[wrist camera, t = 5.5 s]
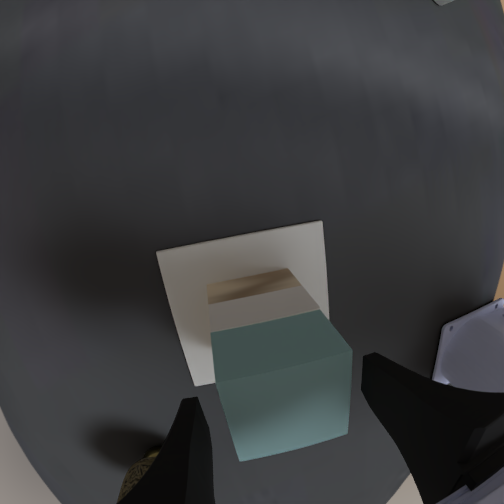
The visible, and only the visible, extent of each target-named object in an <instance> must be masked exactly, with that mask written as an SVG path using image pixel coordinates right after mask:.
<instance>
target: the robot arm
mask: <svg viewBox="0 0 504 504" xmlns="http://www.w3.org/2000/svg"><path fill="white" fill-rule="evenodd" d="M503 304H504V299H502V298H499V299H498V300H495V301H493V302H491V303H489V304H487V305H485V306H483V307H481V308H479V309H477V310H475V311H473V312H471V313H469V314H467V315H465V316H462V317H460V318H458V319H456V320H454V321H451V322H449V323H447V324H445V325H444V326H443V327H442V330H441V336H440V342H439V348H438V353H437V358H436V363H435V368H434V372H433V377H432V380H431V379H429V378H427V377H424V376H422V375H419V374H417V373H415V372H413V371H411V370H409V369H407V368H405V367H403V366H401V365H399V364H397V363H395V362H393V361H391V360H389V359H388V358H386V357H384V356H382V355H380V354H378V353H376V352H374V353H371V354H368V355H365V356H363V368H362V384H361V390H362V392H363V394H364V396H365V399H366V400H367V402H368V404H369V406H370V408H371V409H372V411H373V412H374V414H375V415H376V416H377V418H378V419H379V421H380V422H381V423H382V425H383V426H384V428H385V429H386V430H387V432H388V433H389V435H390V436H391V437H392V439H393V440H394V442H395V443H396V445H397V447H398V448H399V450H400V452H401V454H402V456H403V458H404V460H405V462H406V464H407V466H408V468H409V470H410V472H411V474H412V476H413V478H414V481H415V483H416V485H417V488H418V490H419V493H420V496H421V498H422V501H423V504H504V308H503ZM448 383H451V384H452V385H453V386H454V387H453V386H450V385H446V384H448ZM117 504H215V499H214V488H213V460H212V444H211V437H210V431H209V427H208V424H207V421H206V419H205V416H204V413H203V411H202V408H201V405H200V402H199V400H198V397H192V398H185V399H183V400H182V401H181V404H180V407H179V409H178V412H177V415H176V417H175V420H174V422H173V425H172V427H171V429H170V431H169V434H168V436H167V438H166V440H165V442H164V444H163V445H162V447H161V449H160V451H159V453H158V454H157V456H156V458H155V459H154V461H153V462H152V464H151V465H150V467H149V468H148V470H147V471H146V472H145V474H144V475H143V476H142V478H141V479H140V480H139V481H138V482H137V484H136V485H135V486H134V487H133V488H132V489H131V490H130V491H129V492H128V493H127V494H126V495H125V496H124V497H123V498H122V499H121V500H120V501H119V502H118V503H117Z"/></svg>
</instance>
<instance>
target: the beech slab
mask: <svg viewBox="0 0 504 504" xmlns="http://www.w3.org/2000/svg"><path fill="white" fill-rule="evenodd" d="M300 285H301V284H300V282H299V281H298V280H297V279H296V277H295V276H294V275H293V274H292V273H291V271H290V270H289V269H288V268H287V269H282V270H277V271H272V272H267V273H262V274H257V275H252V276H247V277H242V278H237V279H232V280H227V281H222V282H217V283H212V284H207V295H208V304H214V303H219V302H224V301H229V300H234V299H239V298H244V297H249V296H254V295H259V294H263V293H268V292H273V291H277V290H282V289H287V288H291V287H296V286H300Z"/></svg>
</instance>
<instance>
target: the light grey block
mask: <svg viewBox="0 0 504 504" xmlns="http://www.w3.org/2000/svg"><path fill="white" fill-rule="evenodd" d="M208 306H209V317H210V328H211V332H216V331H222V330H227V329H232V328H237V327H242V326H247V325H252V324H257V323H262V322H266V321H271V320H276V319H280V318H285V317H289V316H294V315H298V314H302V313H306V312H311V311H315V310H319V309H320V310H321V308H320V307H319V305H318V304H317V303H316V302H315V300H314V299H313V298H312V297H311V296H310V294H309V293H308V292H307V291H306V289H305V288H304V287H303V286H302V285H300V286H296V287H291V288H287V289H282V290H277V291H273V292H268V293H263V294H259V295H254V296H249V297H244V298H239V299H234V300H229V301H224V302H219V303H214V304H208Z"/></svg>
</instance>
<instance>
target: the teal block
mask: <svg viewBox="0 0 504 504" xmlns="http://www.w3.org/2000/svg"><path fill="white" fill-rule="evenodd" d="M210 334H211V345H212V355H213V364H214V374H215V383H216V386H217V390H218V393H219V397H220V400H221V404H222V407H223V410H224V414H225V417H226V420H227V423H228V427H229V430H230V433H231V436H232V439H233V442H234V445H235V449H236V452H237V455H238V458H239V461H245V460H251V459H256V458H261V457H265V456H270V455H274V454H279V453H283V452H287V451H291V450H295V449H299V448H302V447H306V446H309V445H313V444H316V443H320V442H323V441H326V440H330V439H333V438H336V437H339V436H342V435H345V434H348V423H349V410H350V396H351V378H352V353H353V350H352V349H351V347H350V346H349V345H348V344H347V342H346V341H345V340H344V339H343V337H342V336H341V335H340V334H339V332H338V331H337V330H336V329H335V327H334V326H333V325H332V324H331V322H330V321H329V320H328V319H327V317H326V316H325V315H324V314H323V312H322V311H321V310H320V309H319V310H315V311H311V312H306V313H302V314H298V315H294V316H289V317H285V318H280V319H276V320H271V321H266V322H262V323H257V324H252V325H247V326H242V327H237V328H232V329H227V330H222V331H216V332H211V333H210Z"/></svg>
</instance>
